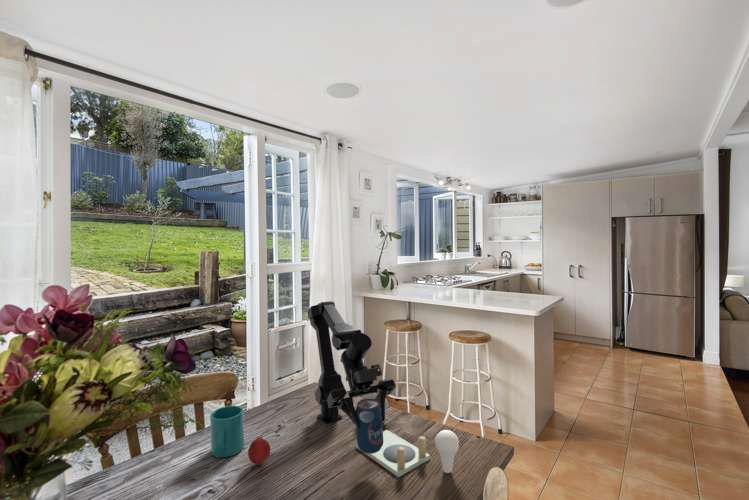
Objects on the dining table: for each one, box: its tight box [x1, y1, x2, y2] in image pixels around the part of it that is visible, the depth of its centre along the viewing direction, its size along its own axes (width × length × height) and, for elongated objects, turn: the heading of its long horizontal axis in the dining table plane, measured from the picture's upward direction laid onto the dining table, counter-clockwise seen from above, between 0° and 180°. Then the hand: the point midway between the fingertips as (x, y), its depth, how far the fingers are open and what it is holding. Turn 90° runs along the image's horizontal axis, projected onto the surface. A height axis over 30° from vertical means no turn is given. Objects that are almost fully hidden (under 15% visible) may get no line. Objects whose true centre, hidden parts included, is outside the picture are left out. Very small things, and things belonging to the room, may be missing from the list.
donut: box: [360, 393, 389, 416], centre depth 125 cm, size 10×4×10 cm, turn 93°
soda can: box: [355, 399, 384, 455], centre depth 98 cm, size 7×7×12 cm
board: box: [356, 429, 431, 478], centre depth 106 cm, size 18×12×6 cm, turn 39°
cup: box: [209, 405, 245, 459], centre depth 108 cm, size 9×12×11 cm
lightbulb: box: [434, 429, 460, 474], centre depth 97 cm, size 6×6×11 cm
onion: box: [247, 435, 271, 466], centre depth 102 cm, size 6×6×8 cm
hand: (371, 424), depth 97 cm, fingers closed on soda can, 7 cm apart
